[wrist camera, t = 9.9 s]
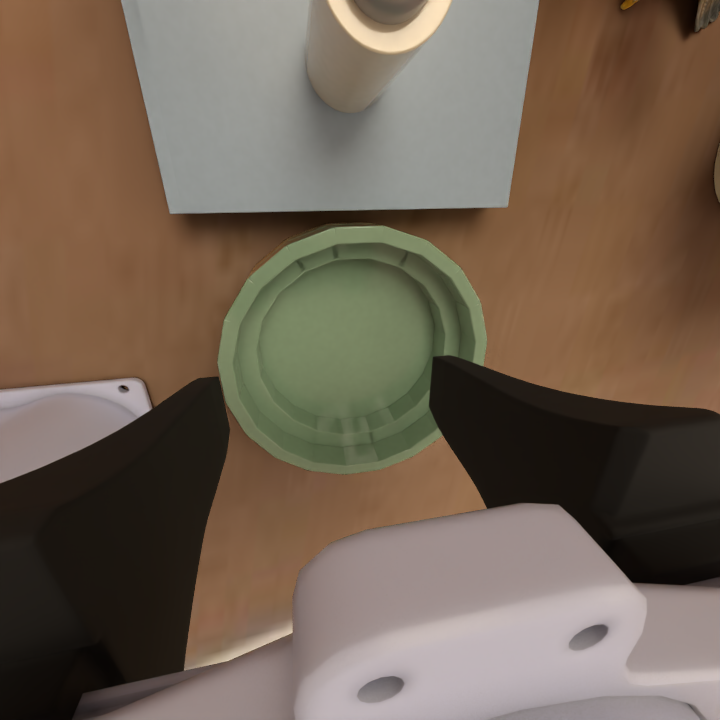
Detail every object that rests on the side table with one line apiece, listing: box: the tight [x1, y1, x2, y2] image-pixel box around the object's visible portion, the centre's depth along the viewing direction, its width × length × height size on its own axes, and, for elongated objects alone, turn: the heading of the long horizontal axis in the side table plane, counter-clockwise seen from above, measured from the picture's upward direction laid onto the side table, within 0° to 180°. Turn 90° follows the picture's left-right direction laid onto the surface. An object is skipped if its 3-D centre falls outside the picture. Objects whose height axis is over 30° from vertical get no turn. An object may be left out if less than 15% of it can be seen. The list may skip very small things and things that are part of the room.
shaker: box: [304, 0, 452, 113], centre depth 10 cm, size 4×4×8 cm
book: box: [121, 0, 539, 214], centre depth 15 cm, size 16×11×2 cm
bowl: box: [217, 222, 487, 475], centre depth 19 cm, size 14×14×4 cm
